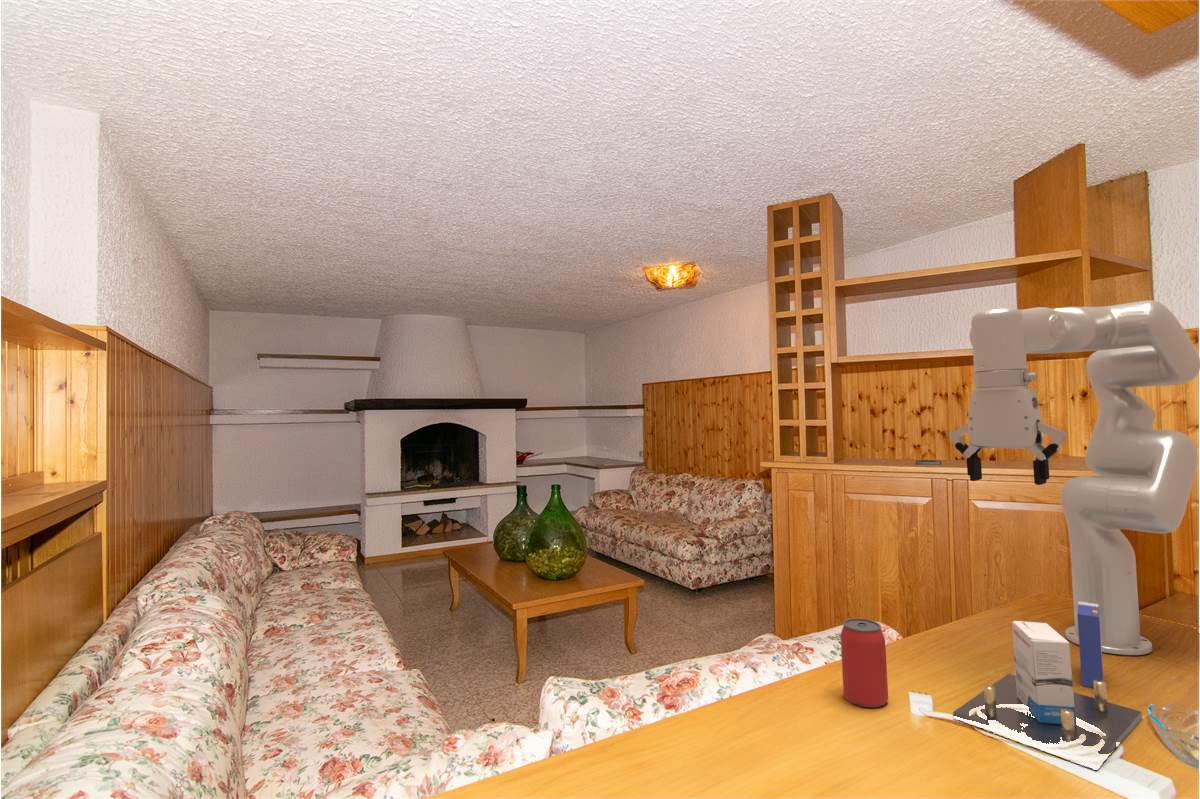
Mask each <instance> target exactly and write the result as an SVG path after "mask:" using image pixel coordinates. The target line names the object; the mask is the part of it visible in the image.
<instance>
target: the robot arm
mask: <svg viewBox="0 0 1200 799" xmlns="http://www.w3.org/2000/svg"><path fill="white" fill-rule="evenodd" d="M970 322H971V324H970V325H971V328H970V330H969V342H970V344H971V346H972V357H973V372H974V373H973V374H974V388H975V390H974V391H971V393H970V399H969V404H968V417H967V418H968V419H967V422H968V423H967V424H965V425H963V426H961V427H959V428H957V429H955V430H953V431H950V432H949V434H948V437H949V439H950V440H951V441H952V443H953V445H954V447H955V449H956V450H957V451H958V452H960V453H961V454H962V455H963V458H965V459H966V471H967V475H968V476H969V480H970V482H977V481H980V480H982V479H983V472H982V459H981V457H980V456H979V453H981V451H982V450H983V449H984V448H985V449H1027V450H1028V451H1029V452H1030V453H1031V454H1032V455H1033V456H1034V457H1035V460H1034V459H1033V461H1032V467H1033V480H1034V485H1036V486H1042V485H1045V484H1047V481H1048V480H1049V479H1050V467H1049V466H1050V465H1049V459H1051V458H1052V457H1053V456H1054V455H1055V454H1056V453H1057V452H1058V451H1059V450H1060V449H1061V447H1062V445H1063V443H1064V442H1065V441H1066V439H1067V436H1068V433H1067V432H1066V431H1063V430H1061V429H1058V428H1056V427H1053V426H1051V425H1049V424H1046V423H1044V422H1043V418H1042V417H1043V416H1042V413H1041V407H1040V403H1039V399H1038V395H1037V393H1036V389H1035V388H1034V387H1033V388H1032V387H1031V388H1029V386H1030V383H1031V382H1034V381H1038V373H1037V372H1031V371H1029V369H1028V367H1027V366H1028V364H1027V355H1028V354H1037V355H1038V354H1043V355H1044V354H1045V355H1047V354H1048V355H1049V354H1065V353H1077V352H1078V353H1079V352H1093V353H1091V354H1090V355H1089V357H1088V358H1087V361H1086V366H1085V370H1086V375H1087V378H1088V382H1089V384H1090V386H1091V389H1092V391H1093V394H1094V396H1095V399H1096V402H1097V404H1098V415H1097V419H1096V422H1095V425H1094V428H1093V431H1092V434H1091V436H1090V439H1089V442H1088V446H1087V447H1086V453H1085V465H1086V467H1087V468H1088V469H1089V470H1090V472H1092V473H1093V474H1096V475H1080V476H1075V477H1072V478H1070V479H1069V480H1067V481H1066V482H1065V483H1064V484H1063V486H1062V487H1061V490H1060V503H1061V507H1062V511H1063V514H1064V517H1065V521H1066V526H1067V531H1068V537H1069V538H1068V539H1069V549H1070V552H1069V553H1070V563H1071V564H1070V568H1071V583H1072V597H1073V598H1072V599H1073V600H1072V601H1073V616H1074V617H1073V618H1074V625H1073V626H1069V627H1067V628H1066V629H1065V633H1064V634H1065V639H1066V638H1067V639H1066V640H1067V641H1069V642H1071V643H1074V644H1076V645H1077V646H1079V631H1078V602H1079V601H1080V602H1088V603H1093V604H1098V607H1099V617H1100V619H1099V620H1100V637H1101V648H1102V653H1105V654H1113V655H1119V656H1120V655H1122V656H1143V655H1147V654H1150V653H1151V652H1152V651H1153V643H1152V641H1150V640H1149V639H1148V638H1146V637H1145V636H1141V626H1140V625H1141V624H1140V610H1139V595H1138V593H1139V592H1138V581H1137V580H1138V579H1137V577H1138V576H1137V561H1136V559H1137V558H1136V554H1135V550H1134V548H1133V546H1132V544H1131V543H1130V541H1129V539H1128V538H1127V536H1125V534H1124V533H1123V532H1122V530H1126V531H1127V530H1129V531H1136V532H1143V533H1151V534H1169V533H1172V532H1174V531H1176V530H1177V529H1178V528H1179V527H1180V526H1181V523H1182V521H1183V519H1184V516H1185V512H1186V509H1187V507H1188V506H1187V505H1188V502H1189V498H1190V495H1191V492H1192V487H1193V484H1194V481H1195V476H1196V473H1197V468H1198V452H1197V448H1196V445H1195V442H1194V441H1193V439H1191V438H1190V437H1189V436H1188V435H1187V434H1185V433H1183V432H1181V431H1177V430H1171V429H1153V428H1154V424H1155V419H1156V415H1155V412H1154V410H1153V409H1152V408H1151V406H1150V405H1149V404H1148V403H1147V402H1146V401H1145V400H1144V399H1143V398H1142V397H1140V396H1139V395H1138V394H1136V393H1135V392H1134V390H1132V388H1139V387H1140V388H1142V387H1163V386H1164V387H1165V386H1166V387H1167V386H1181V385H1185V384H1187V383H1190V382H1192V381H1193V380H1195V379H1196V377H1197V376H1198V375H1199V373H1200V355H1199V352H1198V350H1197V348H1196V346H1195V344H1194V343H1193V341H1192V340H1191V338H1190V336H1189V335H1188V334H1187V332H1186V331H1185V329H1184V327H1183V325H1182V324H1181V323H1180V321H1179V320H1178V318H1177V317H1176V316H1175V315H1174V313H1173V312H1172V311H1171V310H1170V309H1169V308H1168V307H1167V306H1166V305H1164V304H1163V303H1161V302H1159V301H1157V300H1153V299H1152V300H1151V299H1146V300H1140V301H1134V302H1126V303H1120V304H1114V305H1105V306H1066V307H1065V306H1064V307H1057V308H1051V307H1047V306H1046V307H1045V306H1043V307H1042V306H1037V307H1031V308H1024V309H1018V308H1014V307H1002V308H999V307H998V308H992V309H985V310H981V311H979V312H976V313H974V315H972V318H971V321H970ZM966 434H968V441H969V445H968V444H967V443H966V442H964V440H963V436H965V435H966ZM1045 435H1048V436H1050V437H1051V438H1052V439H1051V442H1050V443H1049V444H1048V445H1047V446H1046V447H1045V446H1043V445H1042V444H1044V442H1045Z"/></svg>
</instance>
